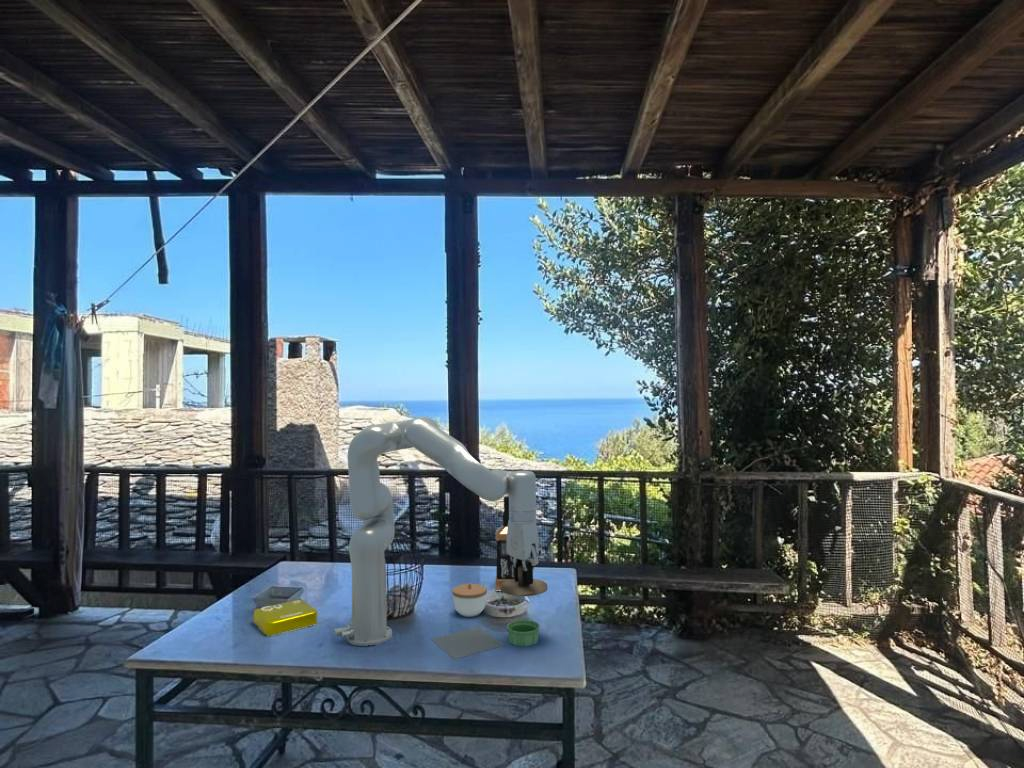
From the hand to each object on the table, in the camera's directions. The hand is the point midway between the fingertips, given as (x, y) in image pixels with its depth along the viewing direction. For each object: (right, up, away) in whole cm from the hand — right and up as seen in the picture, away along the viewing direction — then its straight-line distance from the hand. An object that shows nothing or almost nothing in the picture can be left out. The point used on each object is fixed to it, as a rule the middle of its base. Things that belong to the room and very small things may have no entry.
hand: (523, 582), depth 162 cm
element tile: (-71, -18, +14) cm, 75 cm away
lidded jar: (-16, -17, +20) cm, 31 cm away
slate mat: (-16, -16, -2) cm, 23 cm away
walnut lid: (0, -2, 0) cm, 2 cm away
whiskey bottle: (-4, -18, +45) cm, 49 cm away
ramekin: (0, -16, -1) cm, 16 cm away
